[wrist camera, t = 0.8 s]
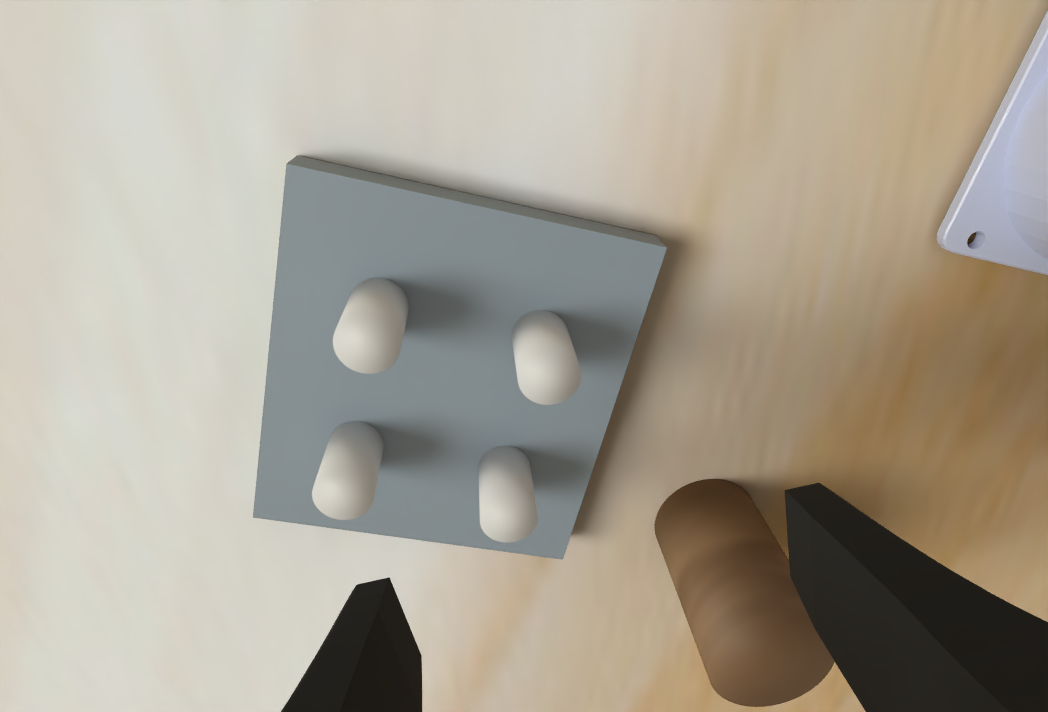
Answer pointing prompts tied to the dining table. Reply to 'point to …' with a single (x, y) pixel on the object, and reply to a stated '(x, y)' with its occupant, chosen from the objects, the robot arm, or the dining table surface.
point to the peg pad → (442, 360)
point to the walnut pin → (739, 596)
